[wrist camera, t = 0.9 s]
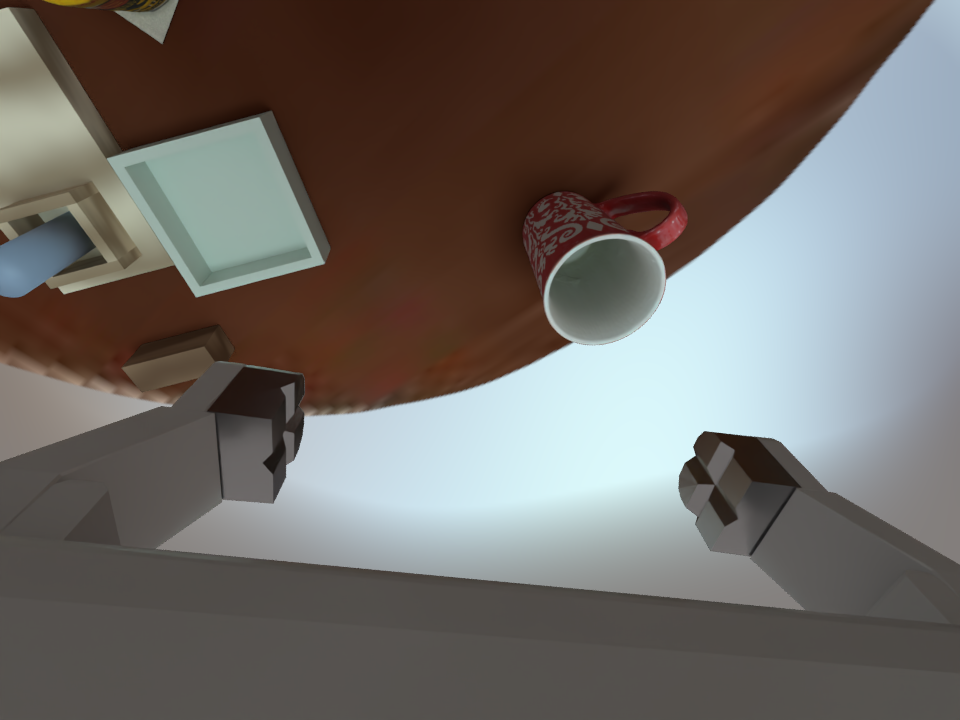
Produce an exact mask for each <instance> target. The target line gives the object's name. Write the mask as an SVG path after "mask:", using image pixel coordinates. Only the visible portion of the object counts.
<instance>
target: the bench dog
mask: <svg viewBox="0 0 960 720" xmlns="http://www.w3.org/2000/svg"><path fill="white" fill-rule="evenodd" d="M234 350H235V349H234V347H233V346H232V344H231V342H230V341H229V339H228V338H227V336H226V335H225V333H224V332H223V330H222V328H221V327H220V325H216V326H212V327H208V328H204V329H200V330H196V331H192V332H189V333H185V334H181V335H177V336H173V337H169V338H165V339H162V340H158V341H154V342H150V343H146V344H142V345H141V346H140V347H139V348H138V350H137V351H136V352H135V353H134V354H133V355H132V356H131V358H130V359H129V360H128V361H127V362H126V363H125V364H124V366H123V367H122V369H123V370H124V371H125V373H126V374H127V375H128V376H129V377H130V379H131V380H132V381H133V382H134V383H135V385H136V386H137V387H138V388H139V389H140V391H141V392H145V391H149V390H153V389H157V388H161V387H165V386H169V385H173V384H177V383H181V382H184V381H188V380H192V379H196V378H200V377H201V376H202V375H203V374H204V373H205V372H206V371H207V370H208V368H209V367H210V366H211V365H212V364H213V363H215V362H218V361H224V362H228V360H229V358H230V357H231V355H232V353H233V351H234Z"/></svg>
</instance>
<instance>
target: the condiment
mask: <svg viewBox="0 0 960 720" xmlns="http://www.w3.org/2000/svg"><path fill="white" fill-rule="evenodd" d="M44 1H46V2H50V3H53V4H57V5H62V6H68V7H80V8H92V9H99V10H112V11H115V12H116V13H118V14H119V15H121V16H122V17H124V18H125V19H127V20H128V21H130V22H131V23H133V24H134V25H136V26H137V27H138V28H140V29H141V30H143V31H144V32H146V33H147V34H149V35H150V36H152V37H153V38H154V39H156V40H157V41H159V42H160V43H161V44H162V43H163V41H164V38H165V35H166V32H167V30H168V28H169V25H170V21H171V19H172V17H173V14H174V11H175V8H176V5H177V3H178V0H44Z"/></svg>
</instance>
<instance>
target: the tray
mask: <svg viewBox="0 0 960 720" xmlns="http://www.w3.org/2000/svg"><path fill="white" fill-rule="evenodd" d="M107 160H108V162H109V163H110V165H111V166H112V168H113V169H114V171H115V173H116V174H117V176H118V177H119V179H120V180H121V182H122V183H123V185H124V186H125V188H126V190H127V191H128V193H129V194H130V196H131V197H132V199H133V200H134V202H135V203H136V205H137V207H138V208H139V210H140V211H141V213H142V214H143V216H144V217H145V219H146V220H147V222H148V224H149V225H150V227H151V228H152V230H153V231H154V233H155V234H156V236H157V237H158V239H159V241H160V242H161V244H162V245H163V247H164V248H165V250H166V251H167V253H168V254H169V256H170V258H171V259H172V261H173V262H174V264H175V265H176V267H177V268H178V270H179V271H180V273H181V275H182V276H183V278H184V279H185V281H186V282H187V284H188V285H189V287H190V289H191V290H192V292H193V293H194V295H195V296H196V297H199V296H203V295H207V294H210V293H214V292H218V291H222V290H226V289H230V288H233V287H237V286H241V285H245V284H249V283H253V282H256V281H260V280H264V279H268V278H272V277H276V276H279V275H283V274H287V273H291V272H295V271H299V270H302V269H306V268H310V267H314V266H318V265H322V264H325V262H326V259H327V257H328V254H329V251H330V249H331V248H330V245H329V243H328V241H327V238H326V236H325V234H324V231H323V229H322V227H321V224H320V222H319V220H318V217H317V215H316V213H315V210H314V208H313V206H312V203H311V201H310V199H309V196H308V194H307V192H306V189H305V187H304V185H303V182H302V180H301V178H300V176H299V173H298V171H297V169H296V166H295V164H294V162H293V159H292V157H291V155H290V152H289V150H288V148H287V145H286V143H285V141H284V138H283V136H282V134H281V131H280V129H279V127H278V124H277V122H276V120H275V117H274V115H273V113H272V111H268V112H264V113H261V114H257V115H253V116H250V117H246V118H242V119H239V120H235V121H231V122H228V123H224V124H220V125H217V126H213V127H209V128H206V129H202V130H198V131H195V132H191V133H187V134H183V135H180V136H176V137H172V138H169V139H165V140H161V141H158V142H154V143H150V144H147V145H143V146H139V147H136V148H132V149H129V150H127V151H124V152H122V153H119V154H117V155H114V156H112V157H109V158H107Z"/></svg>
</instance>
